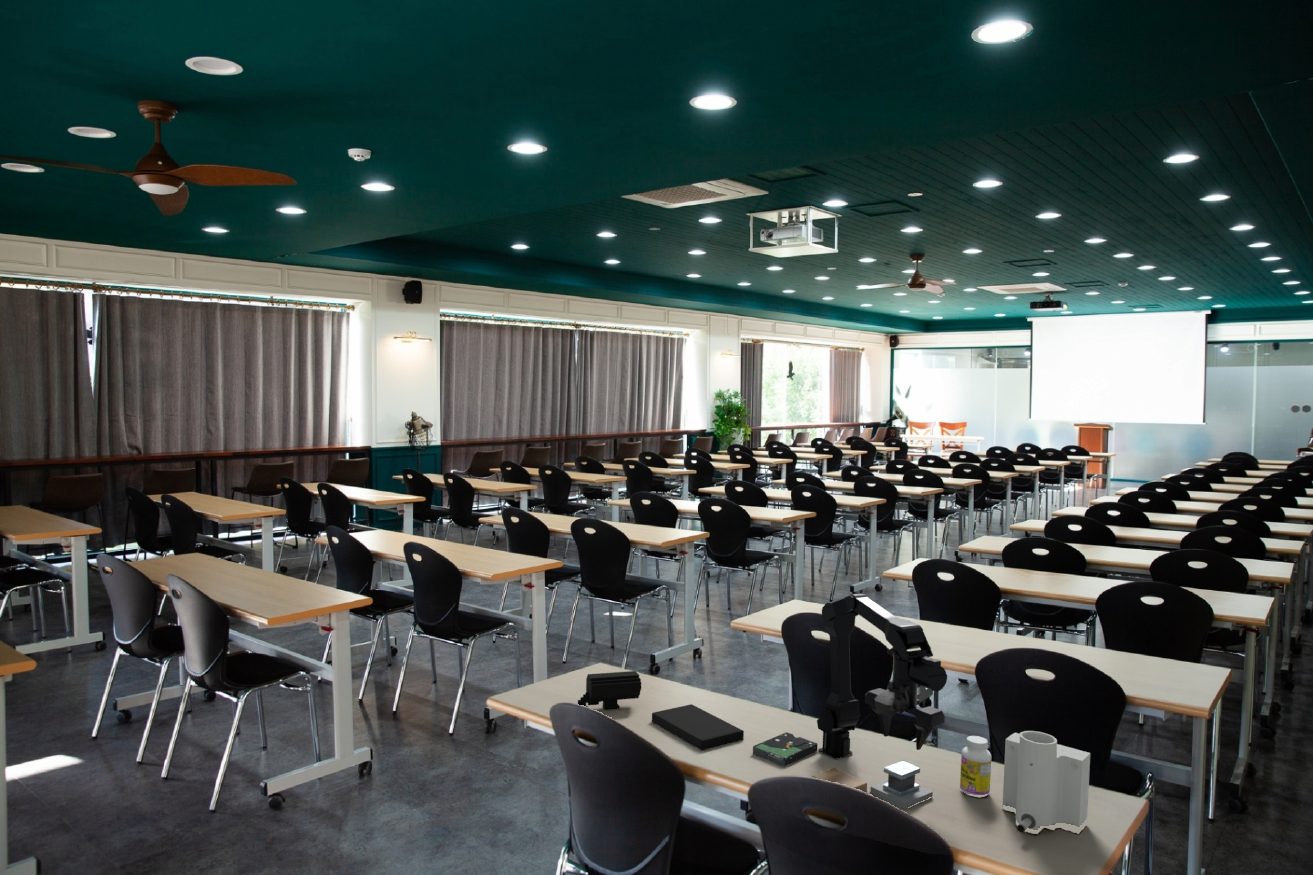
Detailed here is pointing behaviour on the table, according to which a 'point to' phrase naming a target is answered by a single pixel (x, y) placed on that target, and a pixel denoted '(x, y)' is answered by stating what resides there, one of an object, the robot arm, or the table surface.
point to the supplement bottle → (975, 767)
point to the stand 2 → (904, 800)
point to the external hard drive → (697, 727)
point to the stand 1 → (842, 778)
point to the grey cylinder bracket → (1045, 781)
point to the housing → (901, 778)
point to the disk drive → (785, 749)
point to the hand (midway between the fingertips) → (901, 742)
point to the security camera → (611, 689)
